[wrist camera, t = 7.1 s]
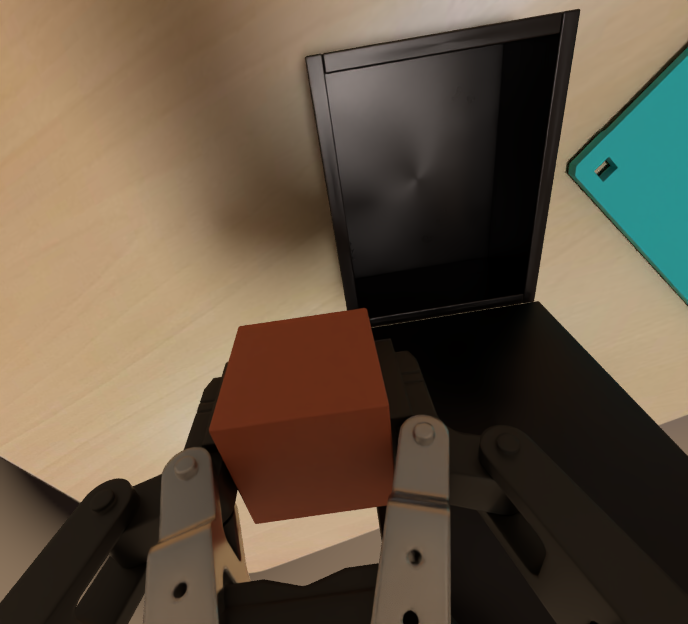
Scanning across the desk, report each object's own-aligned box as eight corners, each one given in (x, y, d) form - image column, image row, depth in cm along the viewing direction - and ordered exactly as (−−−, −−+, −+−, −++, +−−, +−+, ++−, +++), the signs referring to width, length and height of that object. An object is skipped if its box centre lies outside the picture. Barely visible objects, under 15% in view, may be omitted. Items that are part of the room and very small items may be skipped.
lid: (399, 659, 11) (400, 666, 11) (826, 598, 11) (811, 608, 11) (350, 330, 25) (351, 339, 25) (538, 300, 24) (536, 310, 25)
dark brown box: (306, 61, 22) (304, 56, 17) (512, 26, 22) (581, 8, 17) (343, 284, 31) (350, 331, 25) (492, 260, 31) (534, 301, 25)
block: (238, 325, 12) (207, 431, 9) (366, 306, 12) (389, 404, 9) (268, 413, 15) (254, 525, 11) (376, 397, 15) (397, 504, 11)
